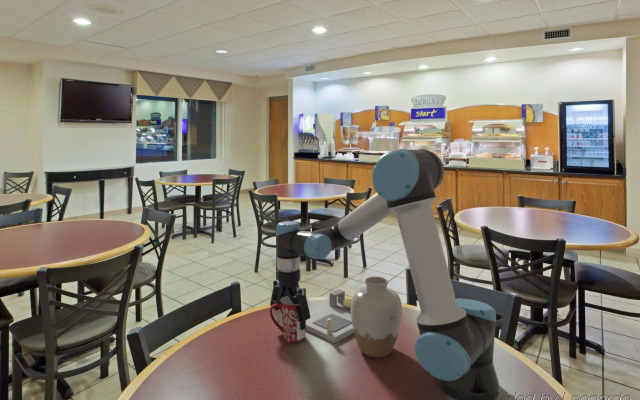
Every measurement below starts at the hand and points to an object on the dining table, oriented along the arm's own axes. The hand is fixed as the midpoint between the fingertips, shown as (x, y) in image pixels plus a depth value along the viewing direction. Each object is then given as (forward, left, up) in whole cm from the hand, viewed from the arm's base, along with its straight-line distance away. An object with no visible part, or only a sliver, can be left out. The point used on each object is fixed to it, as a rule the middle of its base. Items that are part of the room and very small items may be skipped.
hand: (289, 332), depth 128 cm
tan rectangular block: (-4, -28, 0) cm, 28 cm away
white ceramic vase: (-25, -14, -2) cm, 29 cm away
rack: (-4, -19, -2) cm, 19 cm away
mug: (0, 0, -2) cm, 2 cm away
